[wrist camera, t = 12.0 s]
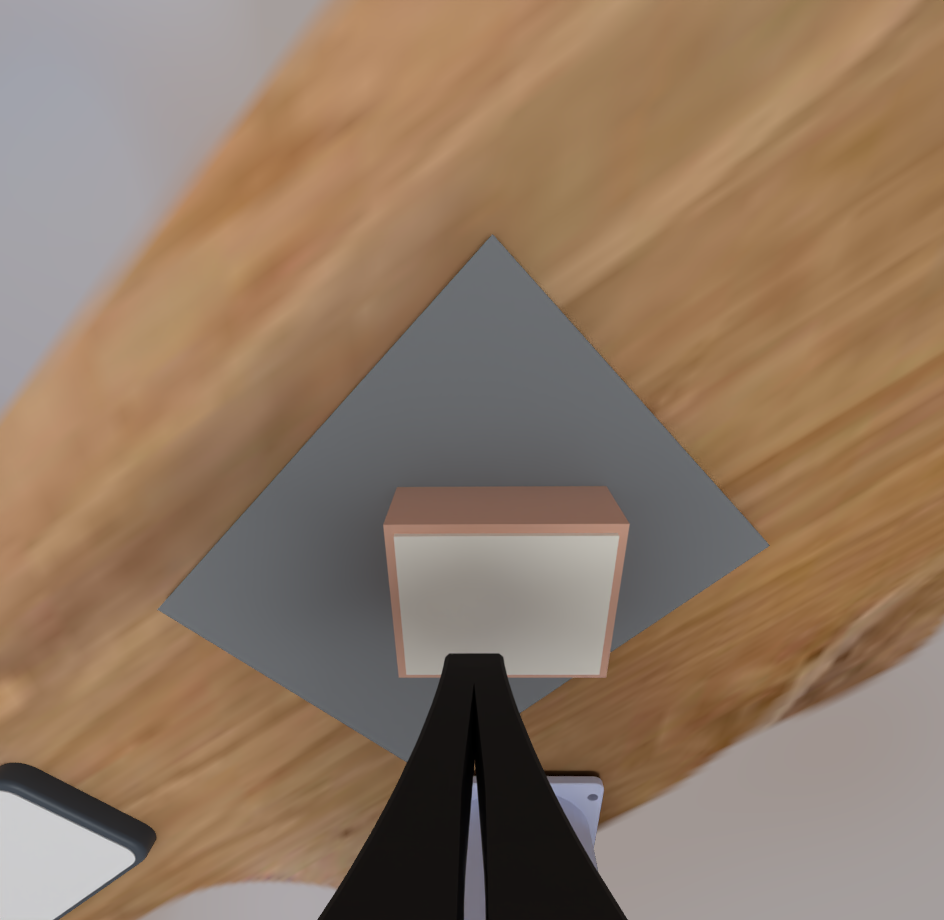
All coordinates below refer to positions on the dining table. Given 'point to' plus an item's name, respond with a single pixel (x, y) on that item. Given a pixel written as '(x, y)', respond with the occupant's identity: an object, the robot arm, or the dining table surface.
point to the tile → (505, 577)
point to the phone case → (59, 844)
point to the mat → (451, 465)
